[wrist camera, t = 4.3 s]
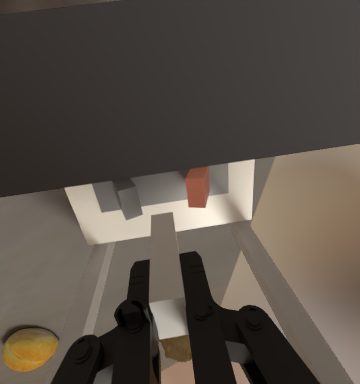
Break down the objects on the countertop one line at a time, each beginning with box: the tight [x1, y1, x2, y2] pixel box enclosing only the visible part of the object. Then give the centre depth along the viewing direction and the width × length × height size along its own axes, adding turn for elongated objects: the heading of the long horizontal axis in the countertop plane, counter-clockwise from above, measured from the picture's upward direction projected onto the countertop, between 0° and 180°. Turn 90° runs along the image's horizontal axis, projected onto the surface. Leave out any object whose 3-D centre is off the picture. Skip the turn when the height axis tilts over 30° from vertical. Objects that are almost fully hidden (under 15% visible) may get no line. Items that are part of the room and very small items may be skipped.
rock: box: [158, 334, 192, 362], centre depth 35 cm, size 11×9×10 cm
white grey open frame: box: [44, 159, 354, 384], centre depth 17 cm, size 20×20×20 cm
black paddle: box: [112, 178, 143, 220], centre depth 20 cm, size 2×3×3 cm, turn 6°
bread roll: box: [2, 328, 59, 372], centre depth 37 cm, size 8×9×4 cm
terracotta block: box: [185, 166, 210, 208], centre depth 20 cm, size 2×3×3 cm, turn 7°
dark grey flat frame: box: [0, 0, 360, 197], centre depth 7 cm, size 18×20×2 cm
